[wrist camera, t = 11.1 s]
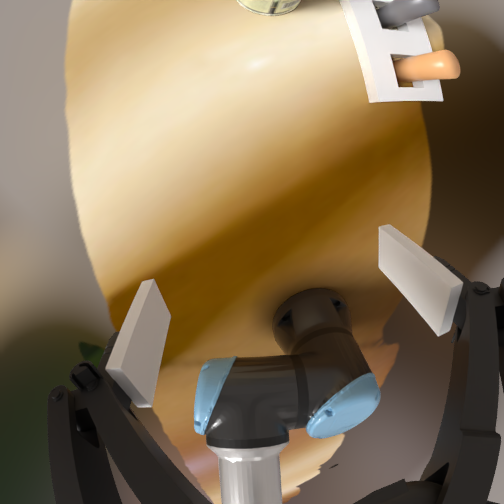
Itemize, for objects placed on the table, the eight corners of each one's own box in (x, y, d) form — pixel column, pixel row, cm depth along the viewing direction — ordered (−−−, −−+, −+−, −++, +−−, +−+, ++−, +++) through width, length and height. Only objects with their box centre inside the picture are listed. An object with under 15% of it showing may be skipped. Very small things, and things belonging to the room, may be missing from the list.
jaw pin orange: (409, 83, 32) (462, 79, 21) (391, 83, 32) (444, 77, 21) (404, 61, 31) (456, 52, 19) (385, 60, 31) (436, 48, 19)
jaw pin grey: (394, 31, 28) (443, 14, 16) (375, 29, 28) (422, 8, 16) (387, 12, 26) (433, -10, 15) (368, 9, 26) (412, -16, 15)
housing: (432, 100, 34) (443, 101, 31) (369, 102, 34) (379, 101, 31) (404, 2, 25) (413, -2, 22) (336, -7, 25) (343, -14, 22)
